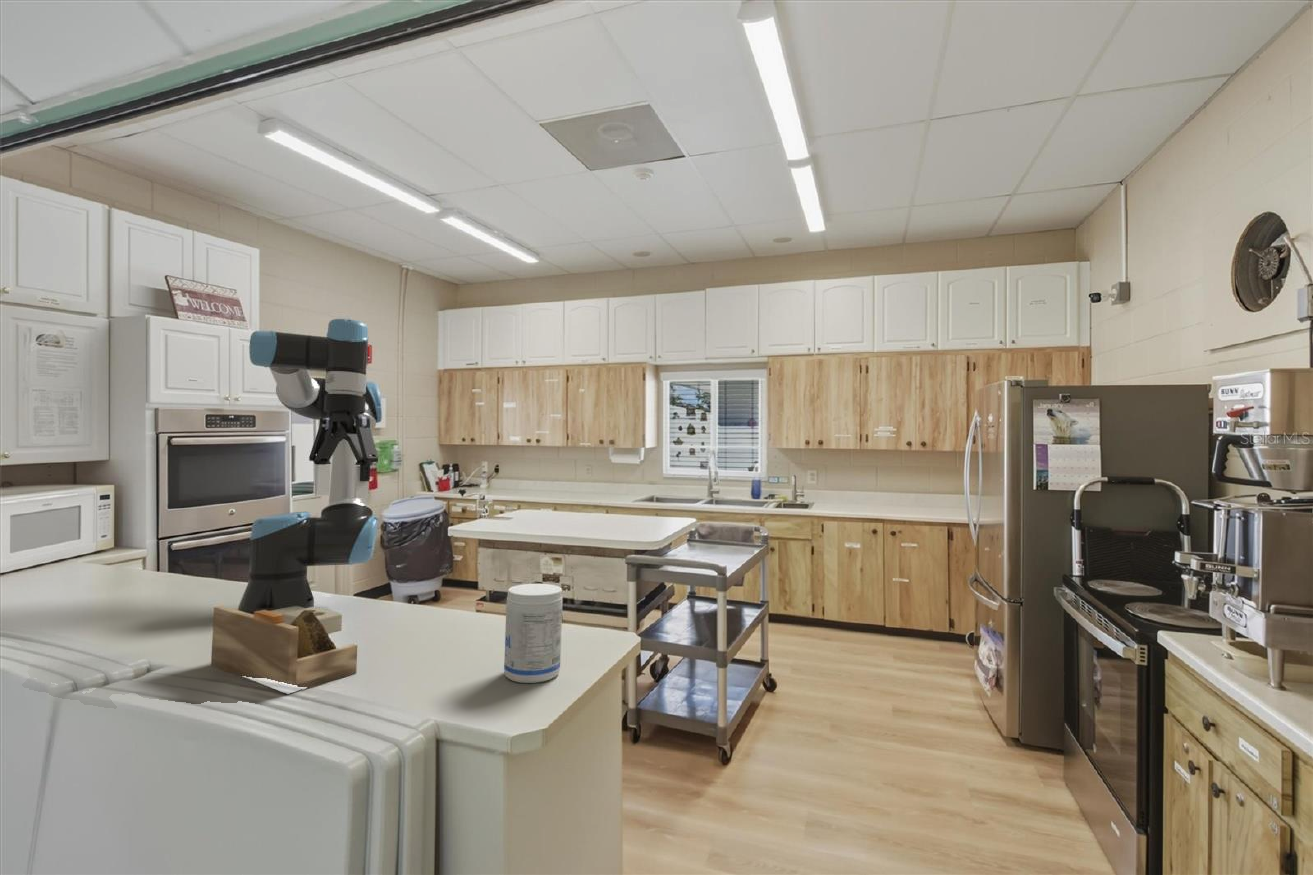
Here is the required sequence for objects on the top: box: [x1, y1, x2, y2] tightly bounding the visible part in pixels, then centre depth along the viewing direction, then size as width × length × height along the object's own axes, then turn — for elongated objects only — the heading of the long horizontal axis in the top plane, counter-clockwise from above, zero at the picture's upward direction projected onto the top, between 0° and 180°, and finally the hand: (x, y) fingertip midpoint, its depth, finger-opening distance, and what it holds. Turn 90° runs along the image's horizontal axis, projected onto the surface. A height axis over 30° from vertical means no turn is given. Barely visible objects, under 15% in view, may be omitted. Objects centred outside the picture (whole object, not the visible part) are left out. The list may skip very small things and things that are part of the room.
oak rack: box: [210, 605, 358, 689], centre depth 102 cm, size 11×25×11 cm, turn 60°
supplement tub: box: [503, 583, 563, 684], centre depth 102 cm, size 10×10×15 cm
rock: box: [290, 610, 337, 659], centre depth 100 cm, size 11×9×10 cm
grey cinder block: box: [271, 606, 343, 635], centre depth 127 cm, size 7×4×18 cm
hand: (340, 496), depth 122 cm, fingers open, 13 cm apart
